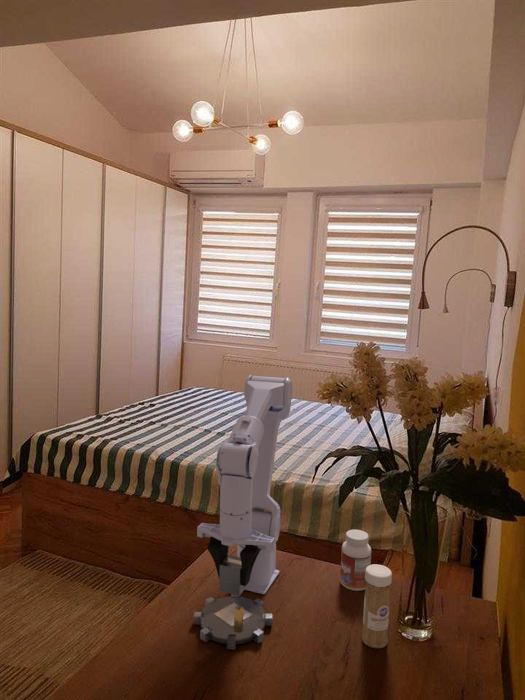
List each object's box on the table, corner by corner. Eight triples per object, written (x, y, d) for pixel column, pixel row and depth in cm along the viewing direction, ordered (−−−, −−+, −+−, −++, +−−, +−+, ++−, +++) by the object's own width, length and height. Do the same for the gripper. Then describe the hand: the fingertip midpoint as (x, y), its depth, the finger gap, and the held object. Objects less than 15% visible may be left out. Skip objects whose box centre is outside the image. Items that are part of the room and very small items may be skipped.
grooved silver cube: (228, 579, 99) (229, 554, 98) (248, 584, 98) (248, 558, 97) (219, 590, 95) (219, 564, 95) (239, 596, 94) (240, 569, 93)
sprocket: (177, 621, 97) (178, 593, 96) (235, 591, 107) (236, 565, 107) (230, 661, 87) (230, 630, 87) (288, 623, 97) (289, 596, 97)
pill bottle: (335, 577, 115) (338, 528, 113) (362, 574, 116) (364, 526, 115) (346, 593, 109) (348, 542, 107) (374, 590, 110) (376, 540, 109)
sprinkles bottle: (375, 653, 91) (380, 579, 89) (356, 638, 94) (360, 568, 93) (393, 643, 94) (397, 571, 92) (373, 629, 97) (377, 560, 96)
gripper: (189, 510, 94) (188, 582, 95) (265, 525, 88) (263, 601, 90) (207, 496, 100) (206, 563, 102) (279, 509, 95) (277, 580, 97)
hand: (234, 580), depth 96 cm, fingers closed on grooved silver cube, 4 cm apart
